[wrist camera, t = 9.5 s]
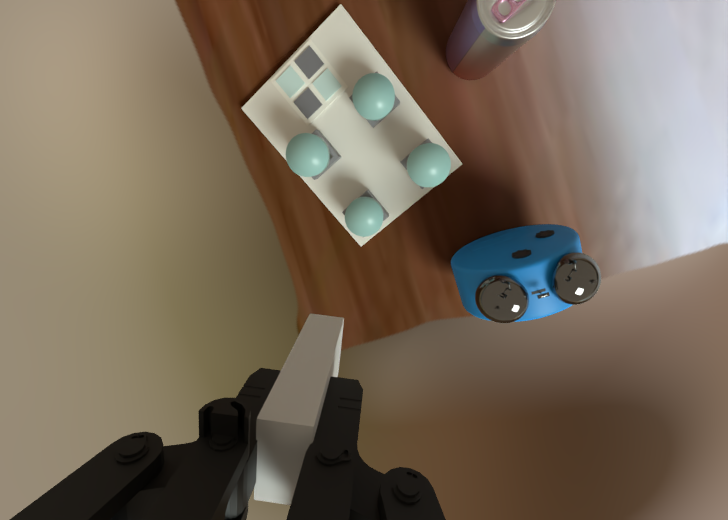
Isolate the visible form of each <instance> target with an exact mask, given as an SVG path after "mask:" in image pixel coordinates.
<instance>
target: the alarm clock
mask: <svg viewBox="0 0 728 520" xmlns="http://www.w3.org/2000/svg"><path fill="white" fill-rule="evenodd" d="M451 267H452V270H453V274H454V277H455V280H456V283H457V287H458V290H459V293H460V297H461V300H462V303H463V306H464V308H465V309H466V310H467V311H468V312H469V313H471V314H472V315H474V316H476V317H478V318H481V319H485V320H490V321H494V322H497V323H511V322H518V321H526V320H533V319H538V318H542V317H546V316H549V315H552V314H555V313H558V312H560V311H562V310H564V309H566V308H568V307H570V306H572V305H577V304H582V303H584V302H587V301H588V300H590V299H591V298H592V297H593V296H594V295H595V294H596V293H597V291H598V289H599V287H600V283H601V272H600V269H599V266H598V264H597V263H596V262H595V260H594V259H593V258H591V257H590V256H588V255H586V254H584V253H582V249H581V244H580V239H579V236H578V233H577V232H576V231H574V230H573V229H571V228H569V227H566V226H561V225H552V224H542V225H530V226H523V227H517V228H512V229H507V230H503V231H500V232H496V233H493V234H490V235H487V236H484V237H482V238H479V239H477V240H475V241H473V242H471V243H469V244H467V245H465V246H464V247H462V248H461V249H459V250H458V251H457V252H456V253H455V254H454V255H453V257H452V259H451Z"/></svg>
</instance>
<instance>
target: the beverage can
mask: <svg viewBox="0 0 728 520" xmlns="http://www.w3.org/2000/svg"><path fill="white" fill-rule="evenodd" d="M555 3H556V0H468V1H467V3H466V5H465V7H464V9H463V11H462V13H461V15H460V17H459V19H458V21H457V23H456V25H455V27H454V29H453V31H452V33H451V35H450V37H449V39H448V42H447V46H446V59H447V63H448V65H449V67H450V69H451V70H452V72H453V73H454V74H455V75H457V76H458V77H460V78H462V79H465V80H476V79H480V78H482V77H484V76H486V75H487V74H489V73H490V72H491V71H492V70H494V69H495V68H496V67H497V66H498V65H500V64H501V63H502V62H503V61H504V60H506V59H507V58H508V57H509V56H510V55H512V54H513V53H514V52H515V51H517V50H518V49H519V48H520V47H521V46H523V45H524V44H525V43H526V42H527V41H529V40H530V39H531V38H532V37H533V36H535V35H536V34H537V33H538V32H539V31H540V30H541V28H542V27H543V26H544V24H545V23H546V21H547V19H548V18H549V16H550V14H551V12H552V10H553V8H554V6H555Z"/></svg>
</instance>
